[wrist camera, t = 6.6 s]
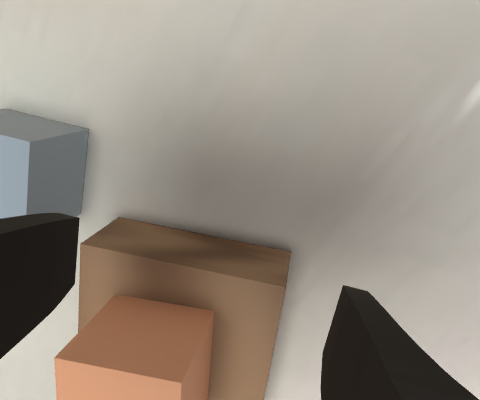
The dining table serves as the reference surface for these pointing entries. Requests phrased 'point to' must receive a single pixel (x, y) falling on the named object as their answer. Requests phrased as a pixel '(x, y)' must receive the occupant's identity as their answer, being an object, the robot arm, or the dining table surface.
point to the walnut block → (195, 292)
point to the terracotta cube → (138, 353)
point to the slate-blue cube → (40, 165)
